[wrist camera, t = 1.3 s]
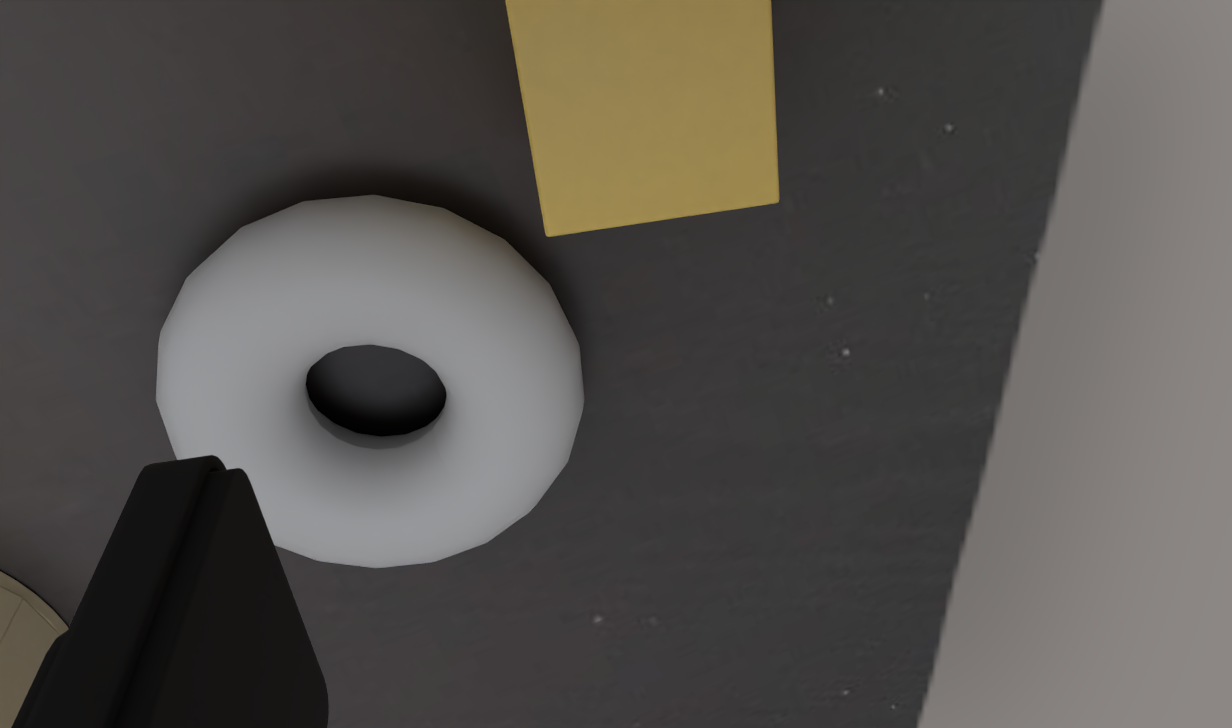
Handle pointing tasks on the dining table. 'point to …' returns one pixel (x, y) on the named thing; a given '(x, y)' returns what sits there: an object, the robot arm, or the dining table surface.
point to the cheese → (646, 108)
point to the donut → (385, 316)
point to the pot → (22, 643)
